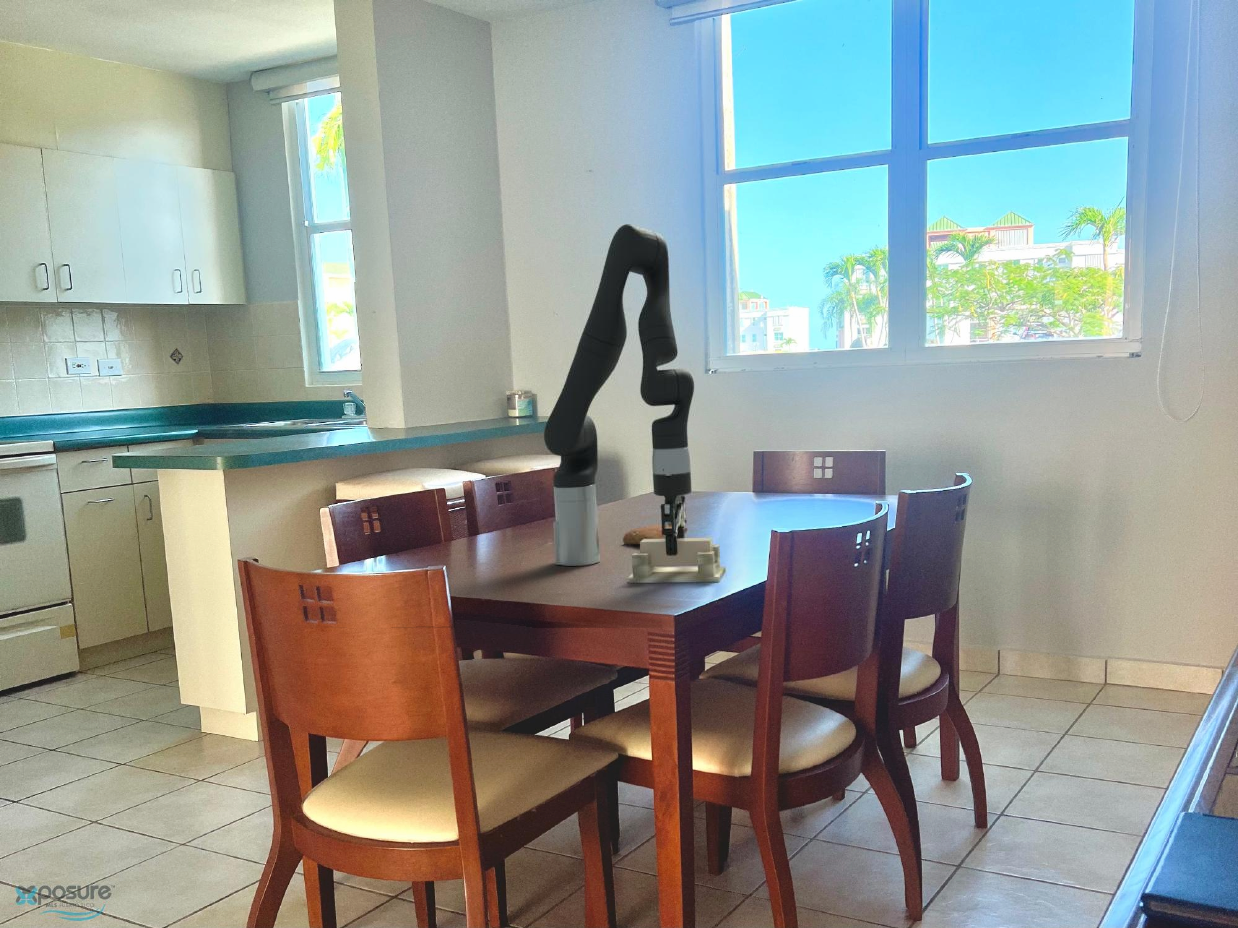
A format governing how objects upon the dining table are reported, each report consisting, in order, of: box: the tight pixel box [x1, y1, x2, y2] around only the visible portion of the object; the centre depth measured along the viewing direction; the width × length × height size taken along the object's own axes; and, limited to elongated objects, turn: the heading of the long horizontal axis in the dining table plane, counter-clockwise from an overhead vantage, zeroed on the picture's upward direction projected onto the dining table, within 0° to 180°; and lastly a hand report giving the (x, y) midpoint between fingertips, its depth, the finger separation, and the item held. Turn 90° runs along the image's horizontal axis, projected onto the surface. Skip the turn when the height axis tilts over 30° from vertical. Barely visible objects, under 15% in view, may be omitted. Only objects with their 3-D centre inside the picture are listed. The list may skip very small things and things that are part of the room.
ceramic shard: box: [622, 524, 688, 546], centre depth 246 cm, size 15×6×15 cm
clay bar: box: [639, 537, 714, 568], centre depth 205 cm, size 14×4×5 cm, turn 77°
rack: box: [627, 544, 726, 584], centre depth 205 cm, size 18×10×6 cm, turn 77°
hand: (675, 551), depth 205 cm, fingers open, 8 cm apart
